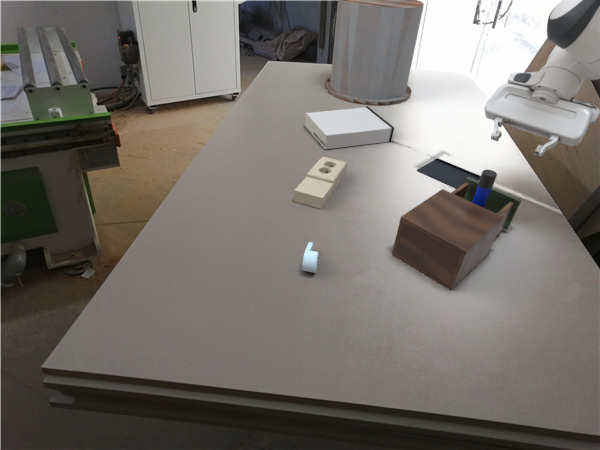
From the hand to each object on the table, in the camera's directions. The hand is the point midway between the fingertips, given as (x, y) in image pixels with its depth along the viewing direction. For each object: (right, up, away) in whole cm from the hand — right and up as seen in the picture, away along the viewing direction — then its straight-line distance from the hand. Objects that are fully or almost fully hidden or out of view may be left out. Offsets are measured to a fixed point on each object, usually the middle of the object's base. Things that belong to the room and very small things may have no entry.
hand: (515, 146), depth 86 cm
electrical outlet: (-41, -7, +16) cm, 44 cm away
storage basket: (-18, +38, +79) cm, 90 cm away
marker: (-8, -17, +3) cm, 19 cm away
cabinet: (-17, -23, -3) cm, 29 cm away
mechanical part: (-44, -24, -6) cm, 50 cm away
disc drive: (-31, +12, +43) cm, 54 cm away
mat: (-4, -2, +26) cm, 26 cm away
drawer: (-7, -17, +5) cm, 19 cm away
